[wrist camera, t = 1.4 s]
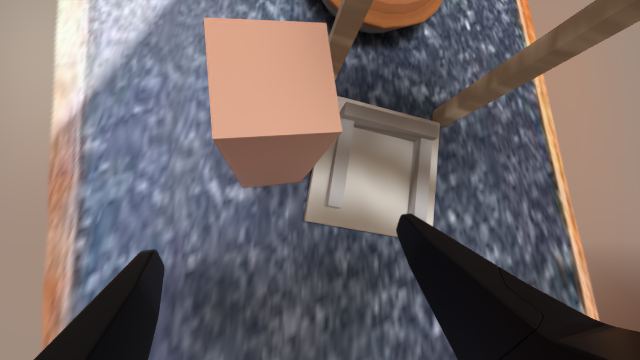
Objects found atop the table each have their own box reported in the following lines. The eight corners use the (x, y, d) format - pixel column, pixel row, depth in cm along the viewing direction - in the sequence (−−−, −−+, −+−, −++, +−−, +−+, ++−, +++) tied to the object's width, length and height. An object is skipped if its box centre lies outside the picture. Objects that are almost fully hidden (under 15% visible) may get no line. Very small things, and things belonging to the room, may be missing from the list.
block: (300, 182, 23) (342, 131, 10) (243, 187, 22) (212, 139, 9) (294, 129, 24) (326, 23, 11) (238, 132, 23) (203, 17, 10)
